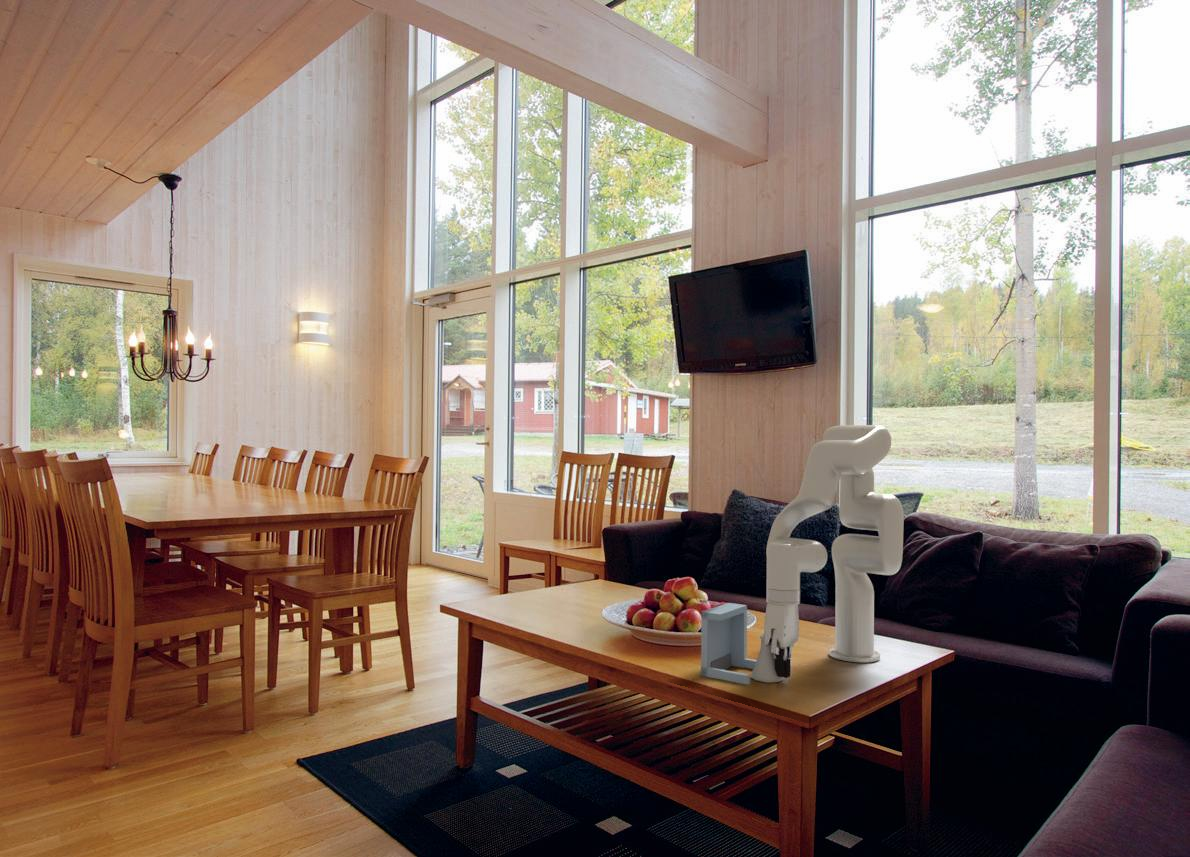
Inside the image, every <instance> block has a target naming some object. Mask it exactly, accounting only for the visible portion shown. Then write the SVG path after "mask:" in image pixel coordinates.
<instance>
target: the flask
mask: <svg viewBox="0 0 1190 857" xmlns="http://www.w3.org/2000/svg"><path fill="white" fill-rule="evenodd" d="M759 639H760V641H761V643H760V647H759V648H760V649H759V653H758V657H757V659H756V660H757V661H756V664H755V667H754V669H752V672H751V674H750V679H753V680H755V681H757V682H762V683H766V684H767V683H769V684H770V683H779V682H781V681H783V680H785V678H784V677H778V676H777V674H776V671H775V659H774V654H771V646H772V645H770V646H765V645H764V634H761V635H759Z"/></svg>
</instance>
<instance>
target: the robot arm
mask: <svg viewBox="0 0 1190 857" xmlns="http://www.w3.org/2000/svg"><path fill="white" fill-rule="evenodd" d="M891 446H892V436H891V434H890V432H889V430H888V429H887V427H884V426H883V425H878V424H866V425H865V424H853V425H852V424H844V425H841V424H840V425H835V426H831V427H828V428H826V429H825V430H824V432H823V436H822V440H821V441H818V442H815V443H814V444H813V445H812V447H811V448H810V451H809V454H808V458H807V462H806V466H805V469H804V474H803V477H802V481H801V485H800V489H799V492H798V494H797V496H796V497H795V498H794V499H792V500H791V501H790V502H789V503H788V504H787V505H786V506H785V507H784V508H783V509H782V510H781V511H780V512H779V513H778V514H777V516H776V518H775V519H774V521H773V523H772V525H771V528H770V532H769V535H768V540H767V544H766V550H765V551H766V600H765V601H766V603H767V604H766V607H765V608H766V609H765V615H764V631H763V635H764V645H765V646H770V645H772V646H771V654H774V659H775V671H776V674H777V676H778V677H784V679H788V678H790V677H791V671H792V670H791V660H792V651H793V650H792V649H793V647H794V645H795V644H796V643H797V642H799V641H798V640H799V636H800V619H799V606H798V605H800V603H801V573H816V572H819V571H821V570H822V569H823V568H824V567H825V566H826V564H827V562H828V551H827V549H826V546H824V545H823V544H822V543H821V542H819V541H816V540H813V539H806V538H805V539H803V538H797V537H796V538H795V537H791V534H792V532H793V530H794V529H795V528H796V527H797V526H798V525H799V523H801V522H803V521H804V520H806V519H808V518H810V517H813V516H815V515H818V514H820V513H822V512H825V511H827V510H830V509H831V508H832V507H833V506H834V504H835V499H836V495H837V491H838V487H839V507H838V508H839V510H838V511H839V520H840V522H841V525H842V526H844V527H847V528H848V529H849V528H850V529H855V530H866V531H867V530H868V531H877V532H878V536H876V535H869V534H859V533H844V534H841V535H838V536H837V537H836V538H835V539H834V540H833V542H832V544H831V557H832V558H831V559H832V563H833V569H834V580H835V611H834V612H835V631H834V632H835V639H834V640H835V643H834V644H835V645H834V646H835V647H831V648H829V650H828V652H829V653H828V655H829V656H830V657H831V658H833V659H836V660H840V661H845V662H849V663H851V662H852V663H874V662H878V661H879V660H880V659H881V654H880V653H879V652H878V651H876V650H875V648H874V646H875V644H874V643H875V628H874V627H875V590H874V585H873V583H872V581H871V579H870V577H869V576H868V574H875V575H882V576H893V575H895V574H897V573H898V572H899V571H900V570H901V567H902V563H903V554H904V524H905V523H904V521H905V520H904V519H905V518H904V517H905V516H904V509H903V505H902V503H901V501H900V499H899V498H898V497H897V496H895V495H893V494H889V493H880V492H879V493H876V492H875V473H874V470H873V468H874V467H875V466H876V465H877V464H879V463H880V462H881V461H883V460H884V459H885V458H886V457H887V456H888V454H889V453H890V450H891Z"/></svg>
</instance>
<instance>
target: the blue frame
mask: <svg viewBox="0 0 1190 857" xmlns="http://www.w3.org/2000/svg"><path fill="white" fill-rule="evenodd" d="M700 623H701V626H700V627H701V629H700V630H701V634H700V635H701V638H700V639H701V640H700V641H701V644H700V647H701V649H700V653H701V654H700V656H701V657H700V676H702V677H707V678H712V679H716V680H717V679H718V680H721V681H726V682H732V683H735V684H742V685H747V686H749V685H751V674H748V673H742V672H738V671H737V672H736V671H733V670H727V669H728V668H731V666H732V667H738V668H743V669H744V668H745V669H751V670H753V669H754V667H755V664H756V661H757V659H752V658H747V656H748V654H747V653H748V650H747V649H748V648H747V647H748V646H747V644H748V639H747V638H748V636H747V635H748V634H747V633H748V631H747V630H748V628H747V627H748V625H747V624H748V605H746V604H740V603H731V602H727V603H724V604H721V605H718V606H715V607H714V606H713V607H711V608H708V609H706V610H702V611H701V622H700Z"/></svg>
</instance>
